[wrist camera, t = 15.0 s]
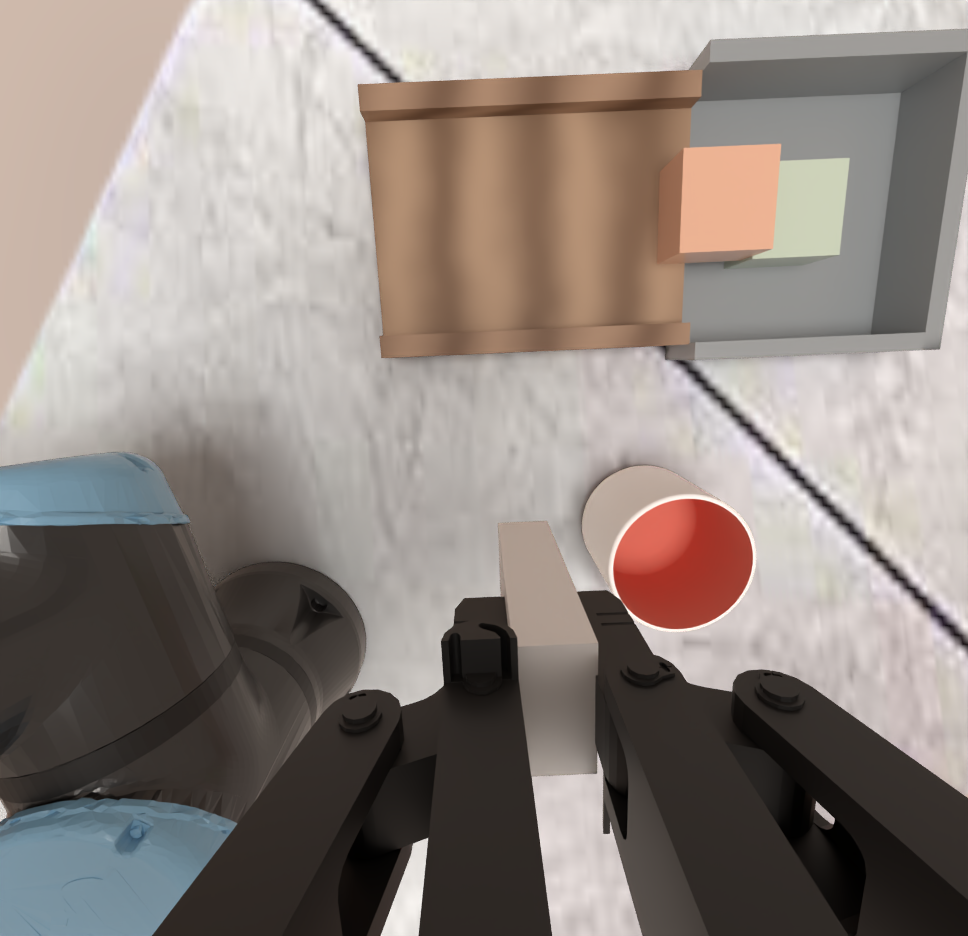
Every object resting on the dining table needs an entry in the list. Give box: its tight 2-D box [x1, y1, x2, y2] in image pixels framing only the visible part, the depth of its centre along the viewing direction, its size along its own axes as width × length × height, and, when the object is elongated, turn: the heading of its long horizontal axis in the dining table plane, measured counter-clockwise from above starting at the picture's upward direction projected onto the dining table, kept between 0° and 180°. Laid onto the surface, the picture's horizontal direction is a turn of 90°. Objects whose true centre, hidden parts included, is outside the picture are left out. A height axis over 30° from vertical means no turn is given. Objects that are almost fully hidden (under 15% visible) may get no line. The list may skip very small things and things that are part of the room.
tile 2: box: [657, 144, 781, 264], centre depth 33 cm, size 6×6×4 cm
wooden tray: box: [358, 70, 703, 358], centre depth 35 cm, size 22×17×4 cm
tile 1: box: [724, 158, 850, 269], centre depth 35 cm, size 6×6×4 cm
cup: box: [582, 466, 756, 632], centre depth 38 cm, size 10×10×10 cm
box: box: [665, 29, 968, 360], centre depth 35 cm, size 17×19×6 cm
